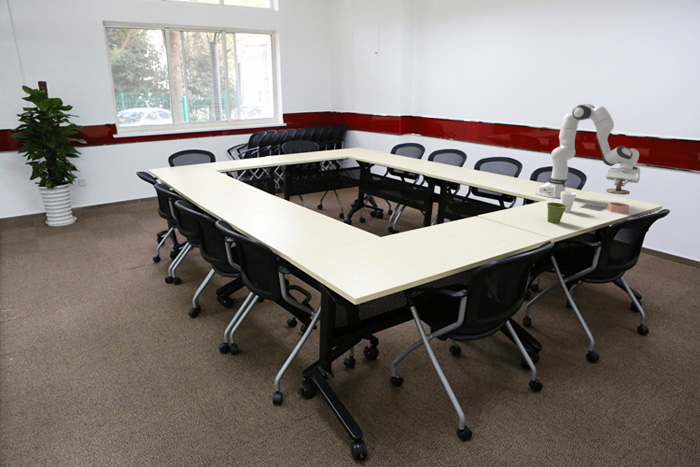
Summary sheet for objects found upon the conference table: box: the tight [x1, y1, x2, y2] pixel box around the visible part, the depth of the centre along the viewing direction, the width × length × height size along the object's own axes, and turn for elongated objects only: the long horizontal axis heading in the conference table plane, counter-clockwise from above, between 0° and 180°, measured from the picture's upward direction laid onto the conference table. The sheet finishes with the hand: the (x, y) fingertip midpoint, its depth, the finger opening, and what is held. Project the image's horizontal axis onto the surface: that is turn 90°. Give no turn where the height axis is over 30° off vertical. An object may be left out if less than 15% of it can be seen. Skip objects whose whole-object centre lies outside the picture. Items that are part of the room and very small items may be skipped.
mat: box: [580, 203, 607, 212], centre depth 318 cm, size 14×14×1 cm
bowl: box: [606, 201, 630, 214], centre depth 311 cm, size 12×12×5 cm
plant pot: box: [546, 201, 567, 224], centre depth 281 cm, size 12×12×11 cm
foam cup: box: [559, 190, 577, 213], centre depth 306 cm, size 10×9×13 cm
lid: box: [605, 179, 630, 196], centre depth 306 cm, size 14×14×9 cm
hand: (619, 185), depth 306 cm, fingers closed on lid, 3 cm apart
